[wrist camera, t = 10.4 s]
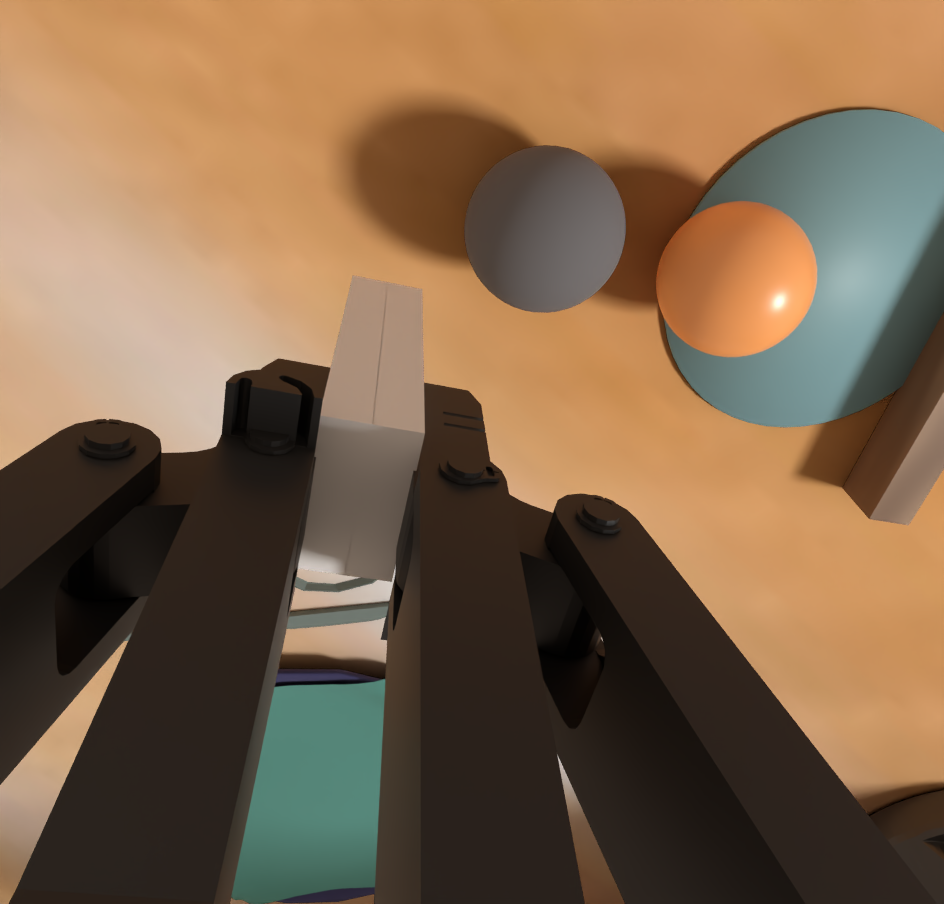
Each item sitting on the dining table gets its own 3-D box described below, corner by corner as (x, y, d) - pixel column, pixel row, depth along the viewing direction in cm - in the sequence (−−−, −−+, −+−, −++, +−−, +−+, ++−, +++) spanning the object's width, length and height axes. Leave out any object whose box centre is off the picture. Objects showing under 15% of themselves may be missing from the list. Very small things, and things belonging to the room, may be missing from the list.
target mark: (818, 470, 36) (820, 473, 36) (599, 334, 32) (600, 336, 32) (1053, 231, 31) (1057, 233, 31) (829, 30, 27) (832, 31, 26)
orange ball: (666, 334, 33) (781, 395, 29) (603, 299, 28) (729, 365, 25) (737, 212, 31) (866, 262, 28) (682, 156, 27) (826, 206, 24)
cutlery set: (184, 891, 50) (175, 928, 48) (17, 502, 35) (-6, 532, 33) (492, 855, 51) (496, 889, 49) (459, 459, 36) (462, 486, 34)
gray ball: (445, 329, 27) (519, 302, 31) (594, 323, 24) (653, 294, 28) (421, 160, 25) (503, 157, 30) (578, 131, 22) (643, 133, 27)
